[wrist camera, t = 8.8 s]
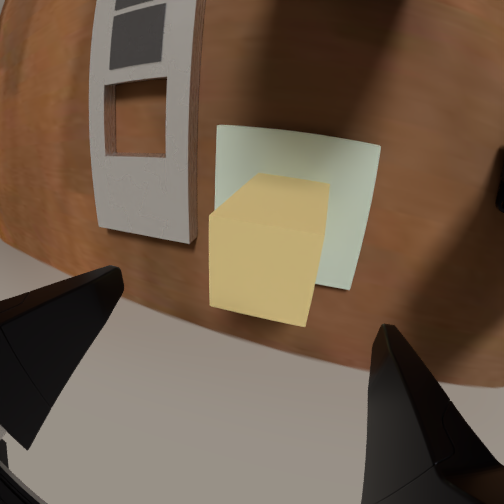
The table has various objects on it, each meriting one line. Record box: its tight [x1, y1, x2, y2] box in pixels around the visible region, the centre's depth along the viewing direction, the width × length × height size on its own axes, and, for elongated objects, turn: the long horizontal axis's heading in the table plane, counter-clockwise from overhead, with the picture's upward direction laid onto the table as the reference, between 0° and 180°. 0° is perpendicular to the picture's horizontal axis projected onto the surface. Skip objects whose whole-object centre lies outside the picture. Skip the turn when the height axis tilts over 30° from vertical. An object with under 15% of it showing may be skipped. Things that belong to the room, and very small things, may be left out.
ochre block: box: [209, 173, 330, 327], centre depth 14 cm, size 4×4×7 cm
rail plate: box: [89, 0, 205, 244], centre depth 15 cm, size 8×20×1 cm, turn 176°
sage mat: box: [215, 125, 381, 290], centre depth 17 cm, size 9×9×1 cm
